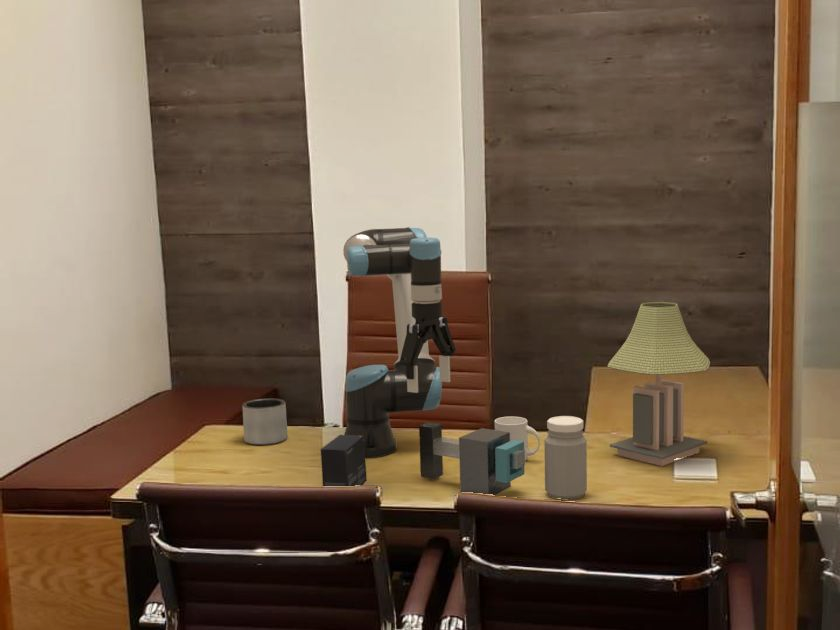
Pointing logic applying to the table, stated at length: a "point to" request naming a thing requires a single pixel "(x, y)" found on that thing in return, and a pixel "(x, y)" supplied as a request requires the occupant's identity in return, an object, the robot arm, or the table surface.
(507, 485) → the block
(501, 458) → the collar
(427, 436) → the shaft
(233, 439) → the table surface
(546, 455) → the jar
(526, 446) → the mug
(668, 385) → the desk lamp
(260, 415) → the planter
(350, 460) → the small box
